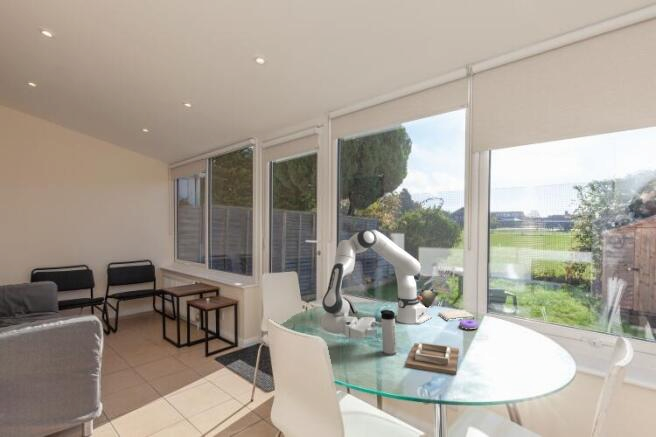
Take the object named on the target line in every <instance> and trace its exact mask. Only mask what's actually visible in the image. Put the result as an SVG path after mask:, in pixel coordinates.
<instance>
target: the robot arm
mask: <svg viewBox="0 0 656 437" xmlns="http://www.w3.org/2000/svg"><path fill="white" fill-rule="evenodd" d="M368 249H372V250H373V251H374V252H375V253H376V254H378V255H379V256H380V257H381V258H382V259H384V260H385V261H386V262H387V263H389V264H390V265H391V266H393V269H394V272H395V273H394V274H395V278H396V282H397V283H396V284H397V310H396V311H397V312H396V315H395V318H396V319H395V321H397V322H399V323H400V324H408V325H412V324H413V325H421V323H422V322H424V321H425V322H427V321H428V319H429V320H431V319H432V318H433V316H432V315H431V314H429V313H428V307H425V306H424V304H423V303H422V302H421V301H420V300H422V297H420V296H417V295H418V291H417V281H416V279H415V276H417V275H419V273H420V272H421V269H422V267H421V263H420V262H419V261H418V260H417V258H415V257H414V256H413V255H412V254H410V253H408V252H407V251H406V250H404V249H403V248H401V247H400V246H398V245H397V244H396V243H394V242H393V240H391V239H390V238H389V237H388V236H386V235H385V234H383V233H382V232H380V231H378V230H376V229H363V230H360V231H359V232H356V233H354V234H353V235H352V236H351V237H349V238H348V239H343V240H340V241H339V243H338V245H337V249H336V252H335V258H334V264H333V266H332V269H331V272H330V273H331V274H330V277H329V280H328V287H327V290H326V292H325V294H324V296H323V299H322V303H321V304H322V305H321V306H322V308H323V310H324V311H325V314H323V315H322V317H321V319H320V320H321V321H320V324H321V328H322V329H323V331H325V332H326V333H329V334H330V333H331V334H337V335H338V334H343V335H344V336H345V339H347V340H350V339H353V340H362V339H364V338H366V337H367V336H371V335H373V336H376V335H377V334H378V333H377V332H378V330H377V329H373V328H374V327H378V328H381V329H382V322H378V321H376V317H372V316H363V317H362V316H361V317H360V318H359V319H358V317H357V316H349V314H350V313H349V311H350V305H349V302H348V301H347V300H345V299H344V298H342V295H341V288H342V285H343V284H342V283H343V278H344V277H345V276H348V275H350V274H351V273H353V272H354V268H355V265H356V255H359V254H361V253H364V252H366V251H367V250H368ZM431 317H432V318H431ZM430 318H431V319H430ZM426 320H427V321H426ZM425 322H424V323H425ZM422 324H423V323H422Z"/></svg>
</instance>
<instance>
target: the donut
mask: <svg viewBox="0 0 656 437" xmlns="http://www.w3.org/2000/svg"><path fill="white" fill-rule="evenodd" d="M460 326H461V327H463V328H467V329H470V328H475V327H477V326H478V327H479V324H478V322H477V321H476V320H475V319H470V320H468V319H466V320H459V327H460ZM461 327H460V328H461ZM463 328H462V329H463Z"/></svg>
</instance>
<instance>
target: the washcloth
mask: <svg viewBox="0 0 656 437" xmlns="http://www.w3.org/2000/svg"><path fill="white" fill-rule="evenodd" d="M437 314H438V316H439V315H440V317H441V316H442V317H441V318H443V317H444V318H445V319H447V320H449V319H456V318H467V317H474V318H475V315H474V314H471V313H470V312H469V311H466V310H465V309H462V310H459V309H453V310H442V311H441V310H440V311H439V312H438V313H437ZM444 318H443V319H444ZM445 319H444V320H445Z"/></svg>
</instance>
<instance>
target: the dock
mask: <svg viewBox="0 0 656 437" xmlns="http://www.w3.org/2000/svg"><path fill="white" fill-rule="evenodd" d="M458 354H459V355H460V348H457V347H451V345H444V344H438V343H437V344H436V343H429V342H421V341H420V342H419V343H418V342H415V343H414V344H413V347H412V349H411V350H410V353H409V355H408V358H407V360H406V362H405V367H406V368H413V369H418V370H424V371H430V372H437V373H442V374H443V373H444V374H450V375H457V371H458V364H457V363H459V362H458V361H459V356H458Z"/></svg>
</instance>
